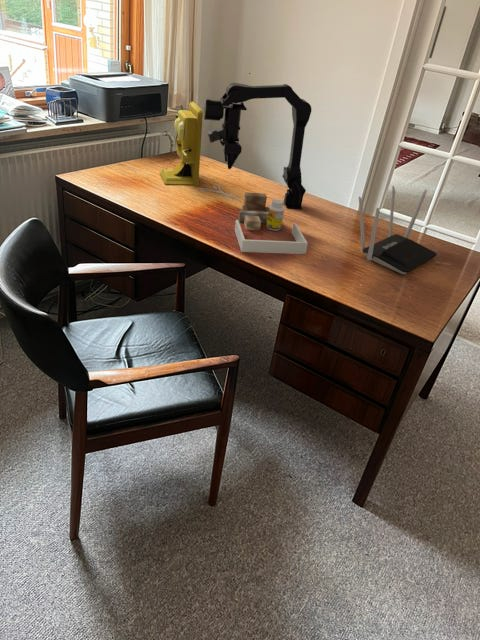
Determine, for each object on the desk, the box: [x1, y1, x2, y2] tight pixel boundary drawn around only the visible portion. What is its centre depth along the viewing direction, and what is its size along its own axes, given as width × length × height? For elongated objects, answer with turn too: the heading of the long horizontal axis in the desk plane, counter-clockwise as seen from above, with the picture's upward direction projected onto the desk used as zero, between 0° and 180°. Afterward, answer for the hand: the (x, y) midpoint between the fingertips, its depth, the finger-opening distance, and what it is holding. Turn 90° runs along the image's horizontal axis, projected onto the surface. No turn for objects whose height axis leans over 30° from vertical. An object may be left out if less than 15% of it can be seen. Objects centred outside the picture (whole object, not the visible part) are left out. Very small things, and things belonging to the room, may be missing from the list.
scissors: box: [196, 184, 241, 202], centre depth 198 cm, size 11×1×20 cm
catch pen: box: [234, 219, 308, 255], centre depth 162 cm, size 22×17×4 cm
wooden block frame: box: [237, 192, 269, 224], centre depth 181 cm, size 16×16×6 cm
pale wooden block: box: [243, 216, 262, 231], centre depth 171 cm, size 5×5×4 cm
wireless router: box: [358, 185, 438, 275], centre depth 159 cm, size 34×23×20 cm
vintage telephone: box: [158, 101, 204, 187], centre depth 199 cm, size 31×14×30 cm, turn 17°
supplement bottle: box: [265, 198, 285, 232], centre depth 170 cm, size 6×6×10 cm
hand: (227, 165), depth 181 cm, fingers open, 9 cm apart
